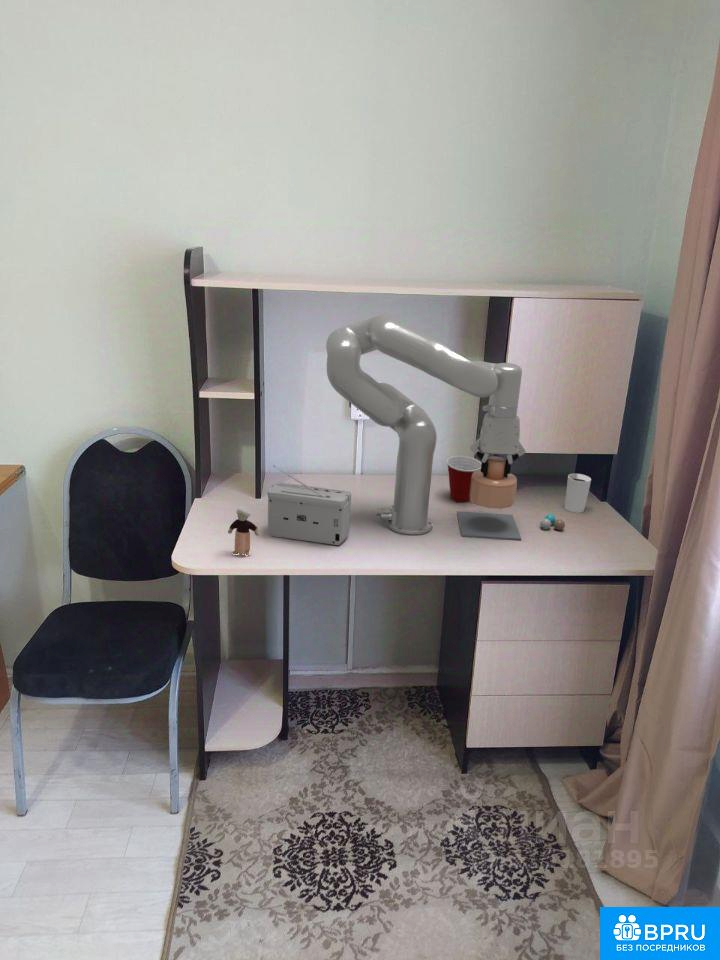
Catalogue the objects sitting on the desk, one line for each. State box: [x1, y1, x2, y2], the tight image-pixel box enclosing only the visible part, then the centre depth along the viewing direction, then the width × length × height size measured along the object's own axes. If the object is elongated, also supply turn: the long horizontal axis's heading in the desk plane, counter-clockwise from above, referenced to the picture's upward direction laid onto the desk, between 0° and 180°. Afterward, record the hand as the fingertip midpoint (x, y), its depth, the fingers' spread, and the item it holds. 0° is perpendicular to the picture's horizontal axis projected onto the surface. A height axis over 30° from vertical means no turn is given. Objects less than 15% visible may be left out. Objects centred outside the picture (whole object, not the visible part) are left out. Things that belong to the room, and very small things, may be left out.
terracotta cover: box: [469, 456, 518, 510], centre depth 199 cm, size 12×12×12 cm
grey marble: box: [539, 517, 552, 530], centre depth 203 cm, size 3×3×3 cm
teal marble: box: [544, 513, 557, 526], centre depth 207 cm, size 3×3×3 cm
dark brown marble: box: [553, 519, 566, 531], centre depth 203 cm, size 3×3×3 cm
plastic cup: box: [446, 455, 482, 503], centre depth 219 cm, size 11×11×12 cm
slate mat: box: [456, 510, 522, 541], centre depth 203 cm, size 16×16×1 cm
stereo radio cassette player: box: [267, 464, 352, 546], centre depth 188 cm, size 21×8×20 cm, turn 78°
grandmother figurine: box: [227, 506, 260, 555], centre depth 178 cm, size 8×4×13 cm, turn 95°
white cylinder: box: [564, 473, 592, 514], centre depth 217 cm, size 7×7×10 cm
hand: (494, 474), depth 198 cm, fingers closed on terracotta cover, 5 cm apart
